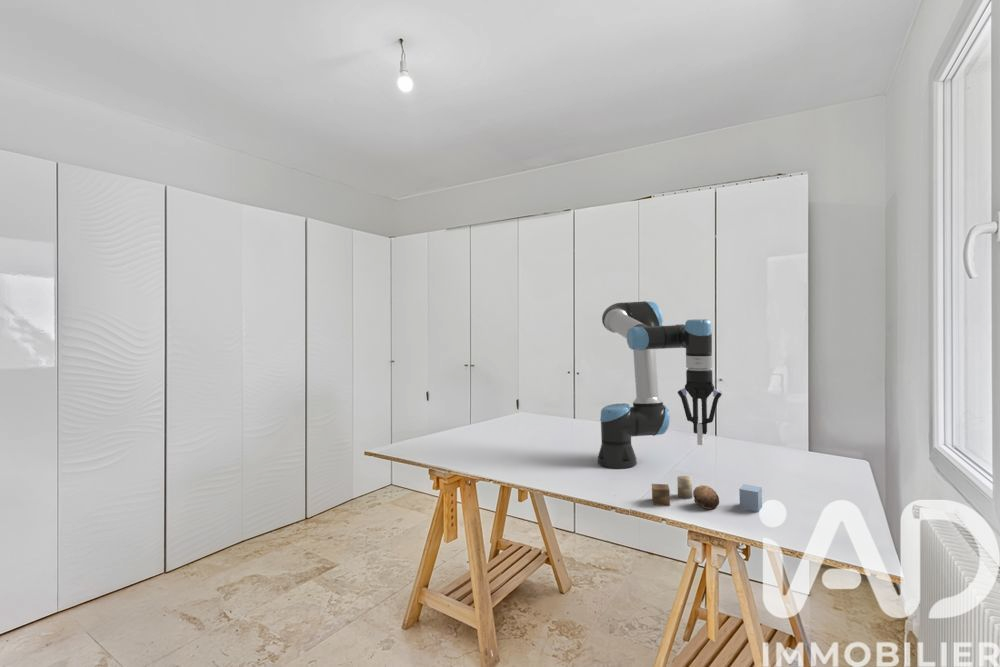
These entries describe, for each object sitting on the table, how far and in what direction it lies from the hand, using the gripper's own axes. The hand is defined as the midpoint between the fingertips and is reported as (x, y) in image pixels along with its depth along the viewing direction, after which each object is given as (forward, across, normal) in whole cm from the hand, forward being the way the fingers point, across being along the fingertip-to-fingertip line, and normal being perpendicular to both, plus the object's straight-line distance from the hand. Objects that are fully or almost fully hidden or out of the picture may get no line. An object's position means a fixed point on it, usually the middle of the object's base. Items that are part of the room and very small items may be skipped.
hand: (700, 443), depth 152 cm
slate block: (+18, +14, 0) cm, 23 cm away
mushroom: (+18, +2, -4) cm, 19 cm away
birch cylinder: (+18, -5, +1) cm, 19 cm away
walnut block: (+18, -11, -7) cm, 22 cm away
